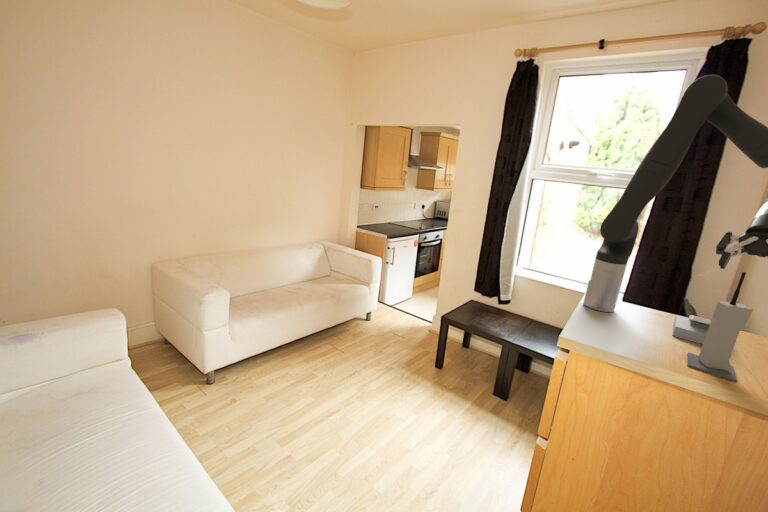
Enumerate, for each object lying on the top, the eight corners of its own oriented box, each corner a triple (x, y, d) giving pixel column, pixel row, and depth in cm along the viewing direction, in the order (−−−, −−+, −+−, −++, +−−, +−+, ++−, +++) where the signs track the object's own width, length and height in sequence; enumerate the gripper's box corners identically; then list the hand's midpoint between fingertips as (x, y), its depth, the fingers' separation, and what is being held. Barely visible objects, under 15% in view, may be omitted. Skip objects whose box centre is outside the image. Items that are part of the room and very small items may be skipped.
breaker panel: (672, 335, 107) (676, 322, 106) (673, 323, 116) (677, 310, 115) (725, 350, 99) (731, 336, 98) (722, 336, 109) (726, 323, 108)
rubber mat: (687, 366, 89) (688, 364, 89) (687, 353, 96) (688, 352, 95) (736, 382, 83) (737, 380, 83) (732, 367, 90) (733, 366, 90)
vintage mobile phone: (729, 371, 87) (766, 276, 81) (706, 367, 88) (740, 272, 82) (719, 364, 90) (753, 271, 84) (697, 360, 91) (729, 268, 85)
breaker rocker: (692, 319, 104) (693, 315, 103) (688, 318, 113) (689, 315, 113) (717, 325, 100) (719, 321, 100) (711, 324, 110) (713, 321, 110)
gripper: (735, 208, 91) (707, 254, 87) (820, 218, 79) (792, 271, 76) (733, 228, 95) (707, 272, 91) (813, 239, 84) (787, 291, 80)
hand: (745, 272), depth 84 cm, fingers open, 8 cm apart
